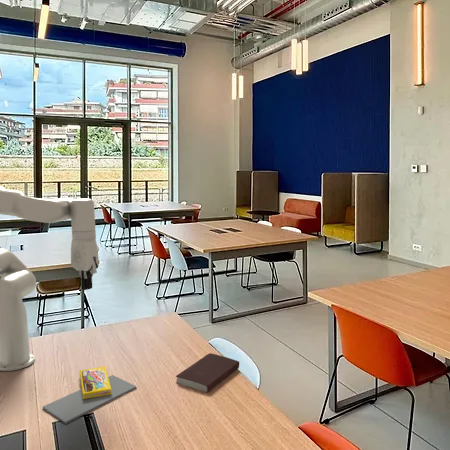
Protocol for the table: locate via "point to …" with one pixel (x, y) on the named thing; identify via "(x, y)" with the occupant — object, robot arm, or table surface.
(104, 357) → the table surface
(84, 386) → the candy box
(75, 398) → the mat
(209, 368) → the book
